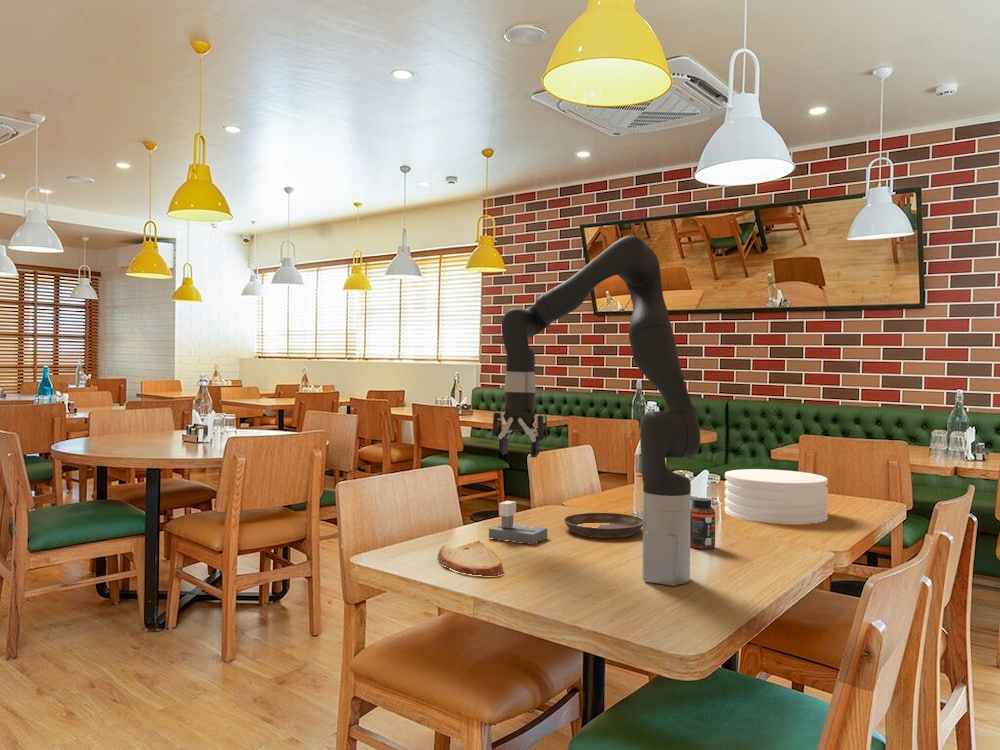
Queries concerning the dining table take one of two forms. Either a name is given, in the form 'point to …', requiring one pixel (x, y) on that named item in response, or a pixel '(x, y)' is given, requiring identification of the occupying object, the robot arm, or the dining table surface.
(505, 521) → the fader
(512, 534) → the console panel
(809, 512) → the plate stack
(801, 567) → the dining table surface
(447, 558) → the bread slice
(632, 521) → the plant saucer
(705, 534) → the supplement bottle
